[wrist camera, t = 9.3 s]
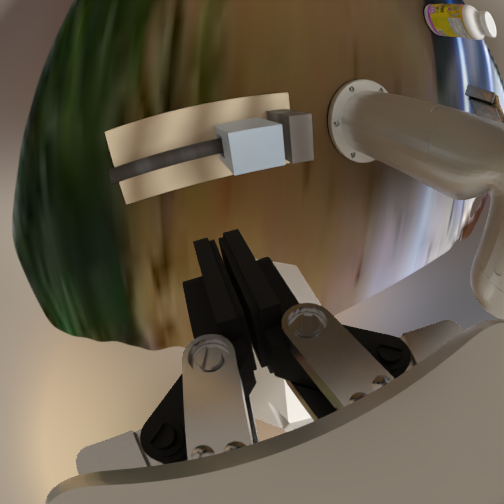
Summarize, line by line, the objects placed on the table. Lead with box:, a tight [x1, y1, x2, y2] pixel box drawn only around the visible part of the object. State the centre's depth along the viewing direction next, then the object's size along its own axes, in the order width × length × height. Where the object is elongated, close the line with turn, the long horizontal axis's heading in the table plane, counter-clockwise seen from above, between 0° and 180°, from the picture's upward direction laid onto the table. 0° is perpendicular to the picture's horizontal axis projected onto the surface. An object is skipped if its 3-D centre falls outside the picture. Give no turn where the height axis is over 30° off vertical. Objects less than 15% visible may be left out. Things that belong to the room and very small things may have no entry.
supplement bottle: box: [424, 4, 496, 40], centre depth 20 cm, size 7×7×13 cm
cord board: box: [105, 92, 314, 205], centre depth 26 cm, size 21×9×7 cm, turn 97°
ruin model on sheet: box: [465, 85, 504, 124], centre depth 34 cm, size 11×3×10 cm, turn 66°
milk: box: [250, 258, 321, 432], centre depth 33 cm, size 12×12×26 cm
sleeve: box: [214, 117, 286, 176], centre depth 26 cm, size 5×4×6 cm
